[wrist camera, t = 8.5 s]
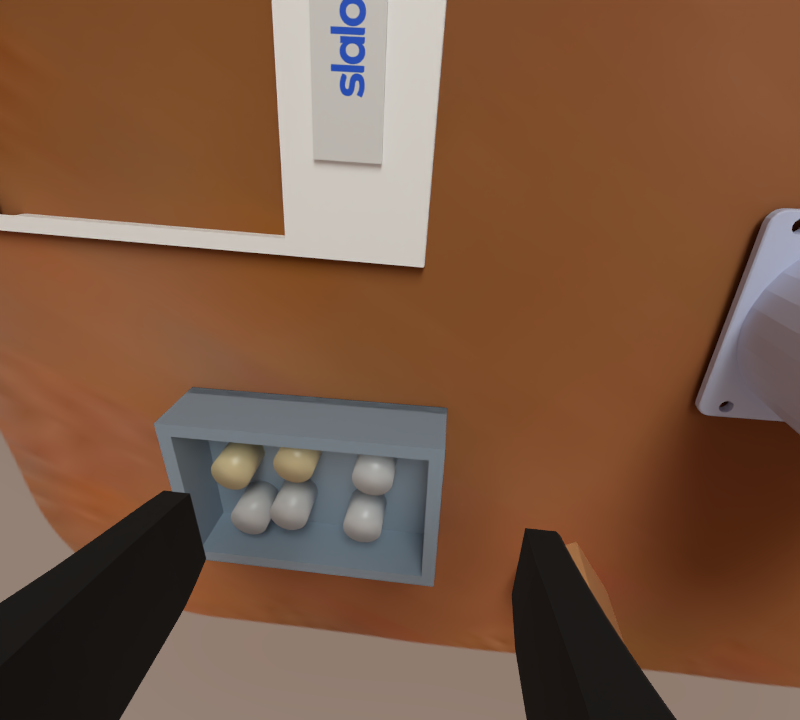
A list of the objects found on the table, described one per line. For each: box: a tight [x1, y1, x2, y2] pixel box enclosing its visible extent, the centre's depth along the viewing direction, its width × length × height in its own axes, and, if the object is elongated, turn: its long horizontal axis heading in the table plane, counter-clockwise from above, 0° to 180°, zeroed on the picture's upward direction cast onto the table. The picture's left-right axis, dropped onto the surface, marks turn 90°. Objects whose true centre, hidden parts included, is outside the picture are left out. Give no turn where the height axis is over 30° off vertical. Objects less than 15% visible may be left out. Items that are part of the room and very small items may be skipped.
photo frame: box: [0, 0, 447, 268], centre depth 15 cm, size 15×1×18 cm
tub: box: [154, 387, 447, 587], centre depth 21 cm, size 12×8×3 cm, turn 89°
